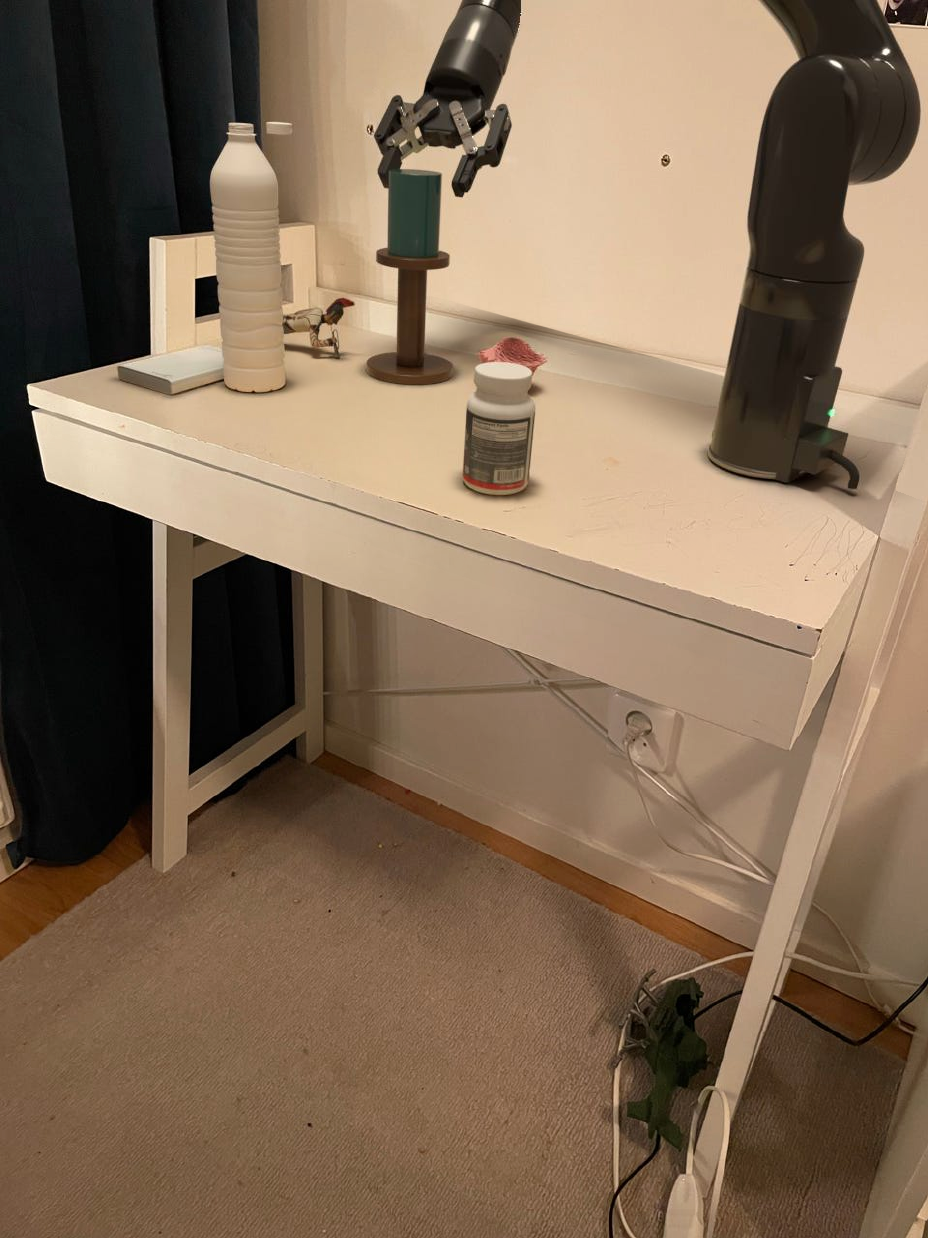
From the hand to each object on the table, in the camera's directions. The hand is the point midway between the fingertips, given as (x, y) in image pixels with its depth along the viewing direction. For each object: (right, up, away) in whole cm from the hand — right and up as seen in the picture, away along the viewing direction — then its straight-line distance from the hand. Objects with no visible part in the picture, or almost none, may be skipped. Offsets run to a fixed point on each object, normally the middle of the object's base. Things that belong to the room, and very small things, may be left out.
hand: (420, 187), depth 99 cm
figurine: (-16, -13, +15) cm, 25 cm away
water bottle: (-17, -20, +2) cm, 27 cm away
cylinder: (-1, -6, +2) cm, 7 cm away
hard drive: (-25, -19, +3) cm, 32 cm away
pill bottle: (+7, -34, -18) cm, 40 cm away
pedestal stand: (-2, -17, +9) cm, 19 cm away
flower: (+10, -20, +6) cm, 23 cm away
